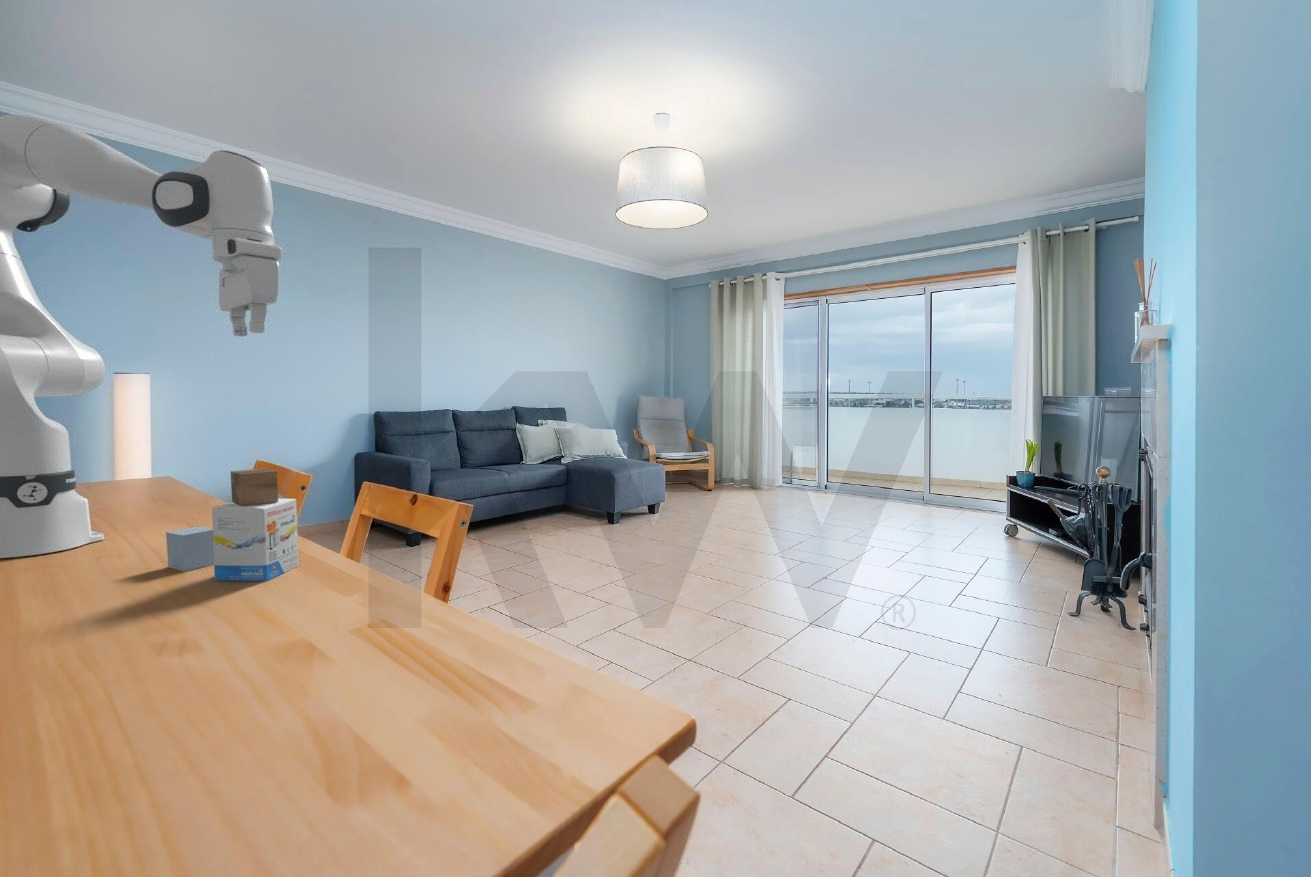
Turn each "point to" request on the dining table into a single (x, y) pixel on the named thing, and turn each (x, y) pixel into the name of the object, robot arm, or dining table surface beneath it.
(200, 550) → the slate block
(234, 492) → the walnut block
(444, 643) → the dining table surface
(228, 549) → the ink box
